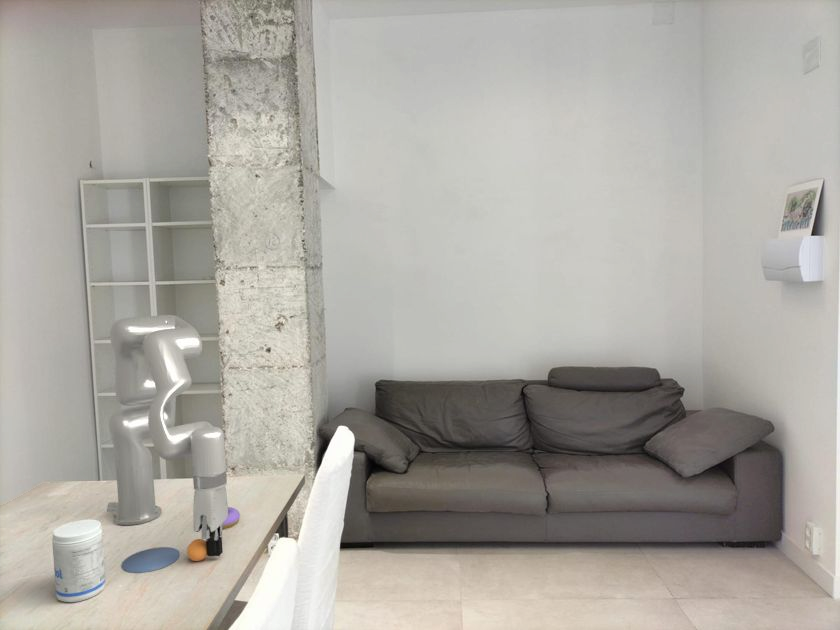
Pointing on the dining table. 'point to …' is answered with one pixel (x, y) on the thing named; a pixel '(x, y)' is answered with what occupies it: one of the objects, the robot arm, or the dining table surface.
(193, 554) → the ball
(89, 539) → the supplement tub
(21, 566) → the dining table surface
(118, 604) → the dining table surface
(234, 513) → the donut
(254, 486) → the dining table surface
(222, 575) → the dining table surface
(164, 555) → the disc
